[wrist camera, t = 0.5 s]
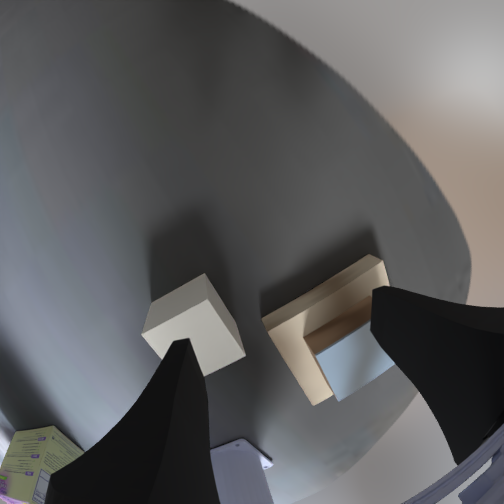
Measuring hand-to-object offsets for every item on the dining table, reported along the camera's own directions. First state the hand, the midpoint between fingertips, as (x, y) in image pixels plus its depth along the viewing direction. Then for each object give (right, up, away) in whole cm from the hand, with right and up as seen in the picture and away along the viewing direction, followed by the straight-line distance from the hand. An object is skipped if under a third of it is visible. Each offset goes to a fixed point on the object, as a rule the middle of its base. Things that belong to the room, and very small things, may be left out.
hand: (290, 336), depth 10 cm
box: (-27, -21, +11) cm, 36 cm away
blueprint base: (+6, -4, +13) cm, 14 cm away
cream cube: (-6, -1, +10) cm, 11 cm away
